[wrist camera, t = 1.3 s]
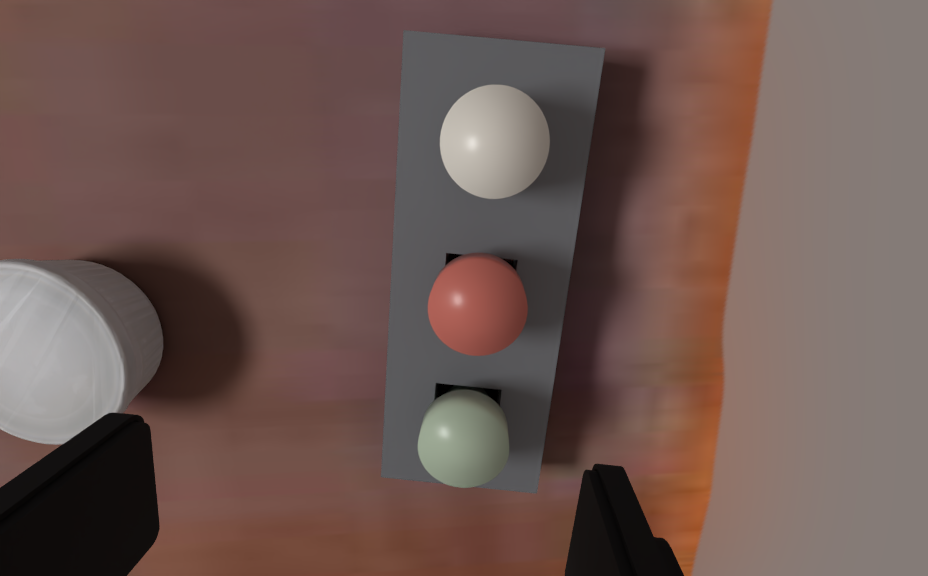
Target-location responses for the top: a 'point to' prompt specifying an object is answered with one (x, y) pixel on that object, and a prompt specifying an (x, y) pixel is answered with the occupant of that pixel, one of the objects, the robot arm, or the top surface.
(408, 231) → the button panel
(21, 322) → the ramekin
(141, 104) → the top surface
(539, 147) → the button cream
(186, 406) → the top surface
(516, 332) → the button red
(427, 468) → the button sage
